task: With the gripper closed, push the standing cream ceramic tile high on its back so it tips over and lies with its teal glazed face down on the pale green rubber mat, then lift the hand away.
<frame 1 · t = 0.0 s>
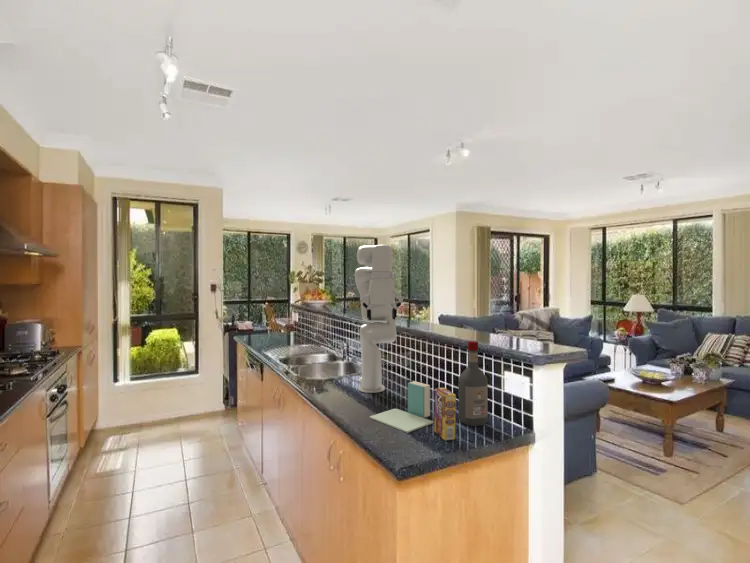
hand: (381, 319, 163), 37 cm above the worktop, tool pointing down, fingers open, 9 cm apart
liquor: (472, 422, 154), on the worktop
candy box: (444, 435, 141), on the worktop
tile: (418, 414, 162), on the worktop
mat: (400, 420, 155), on the worktop
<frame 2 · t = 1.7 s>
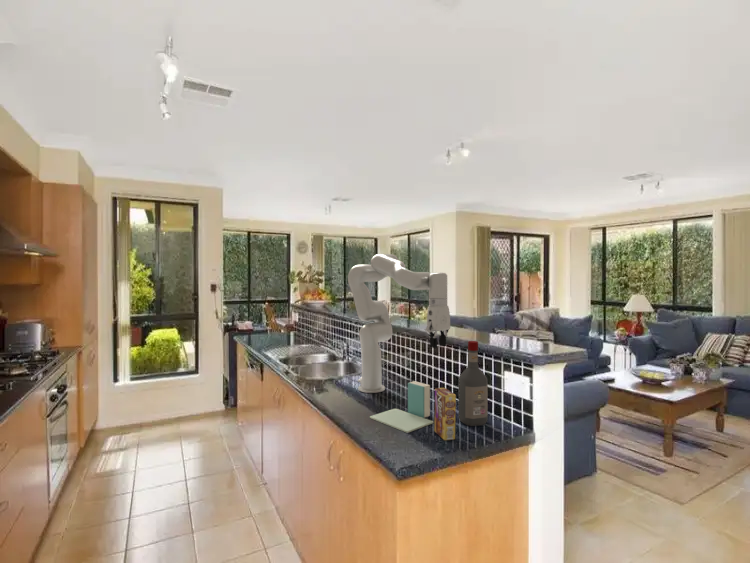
hand: (438, 346, 169), 25 cm above the worktop, tool pointing down, fingers open, 5 cm apart
nothing on the worktop moved.
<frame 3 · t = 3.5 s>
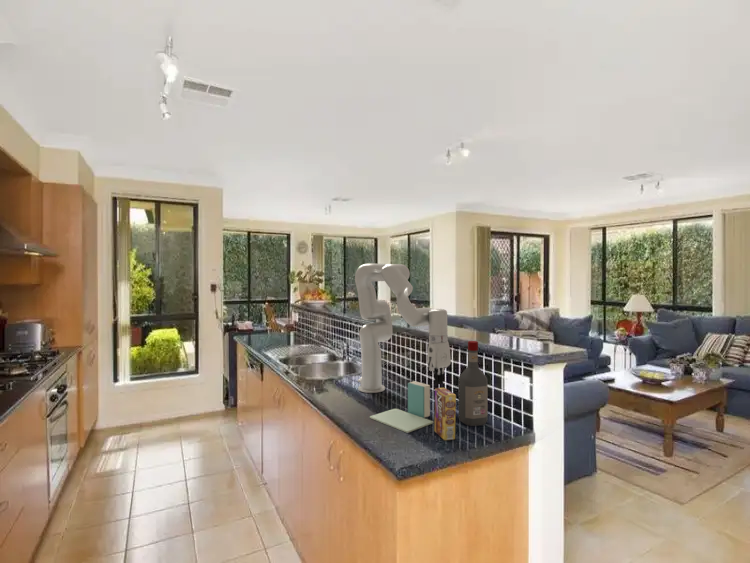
hand: (438, 383, 169), 10 cm above the worktop, tool pointing down, fingers closed
nothing on the worktop moved.
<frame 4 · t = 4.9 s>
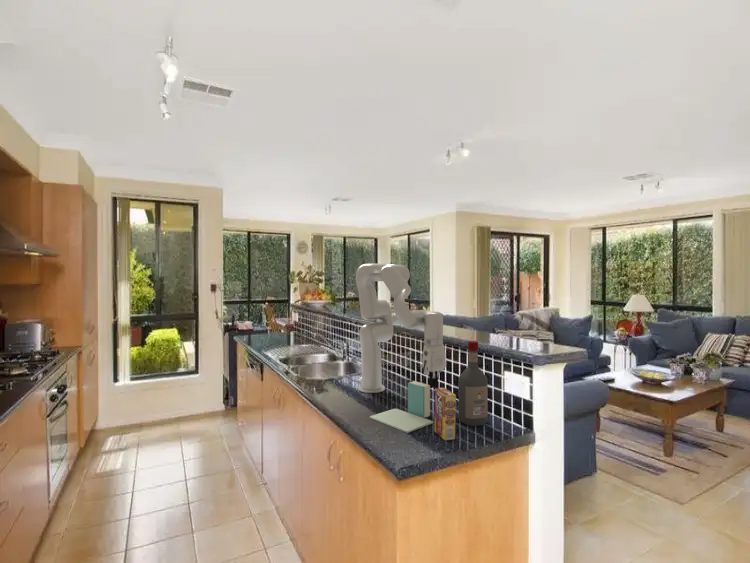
hand: (433, 386, 168), 9 cm above the worktop, tool pointing down, fingers closed
nothing on the worktop moved.
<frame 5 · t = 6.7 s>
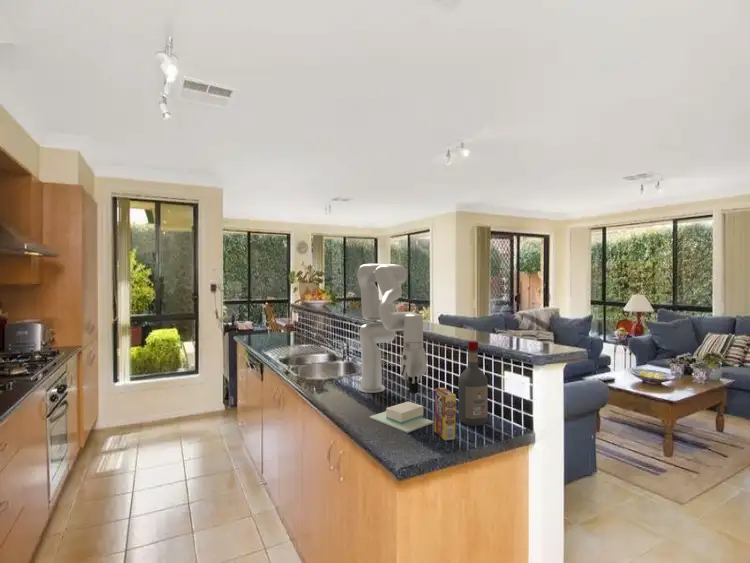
hand: (413, 392, 159), 9 cm above the worktop, tool pointing down, fingers closed
tile: (415, 408, 161), point 3 cm above the worktop, tilted 90°, touching mat
everything else where it was.
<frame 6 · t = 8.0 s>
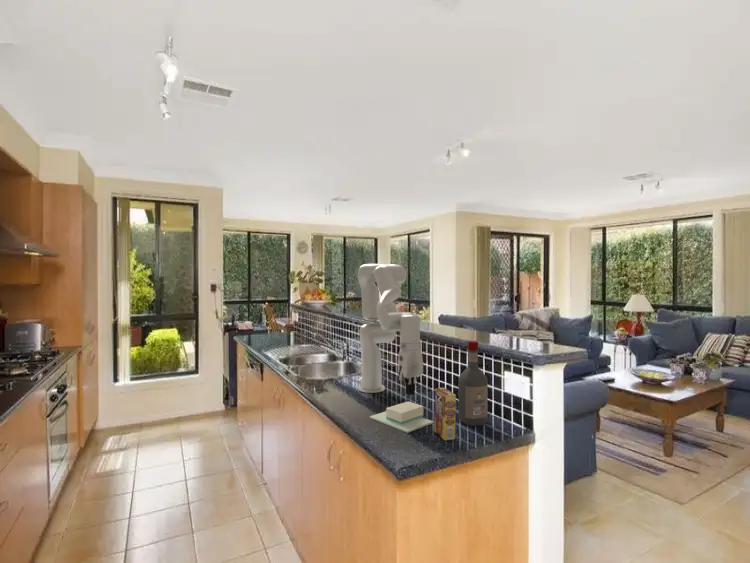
hand: (410, 393, 158), 9 cm above the worktop, tool pointing down, fingers closed
nothing on the worktop moved.
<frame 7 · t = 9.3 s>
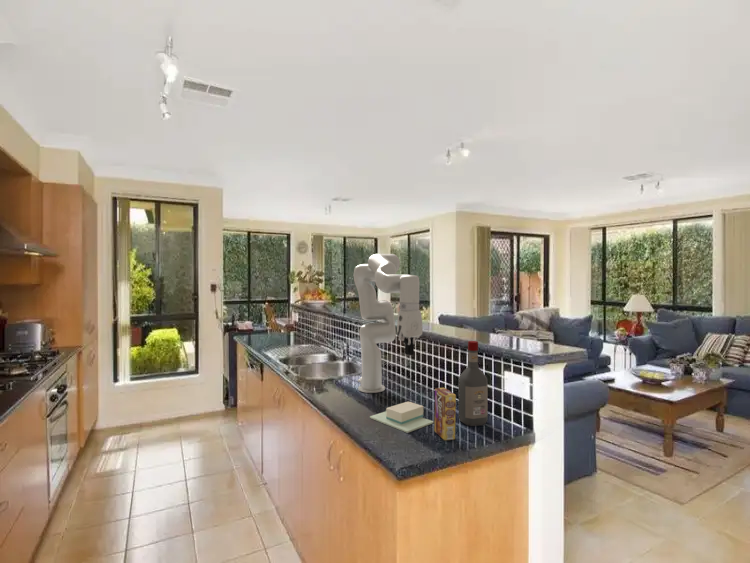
hand: (409, 354, 159), 24 cm above the worktop, tool pointing down, fingers closed
nothing on the worktop moved.
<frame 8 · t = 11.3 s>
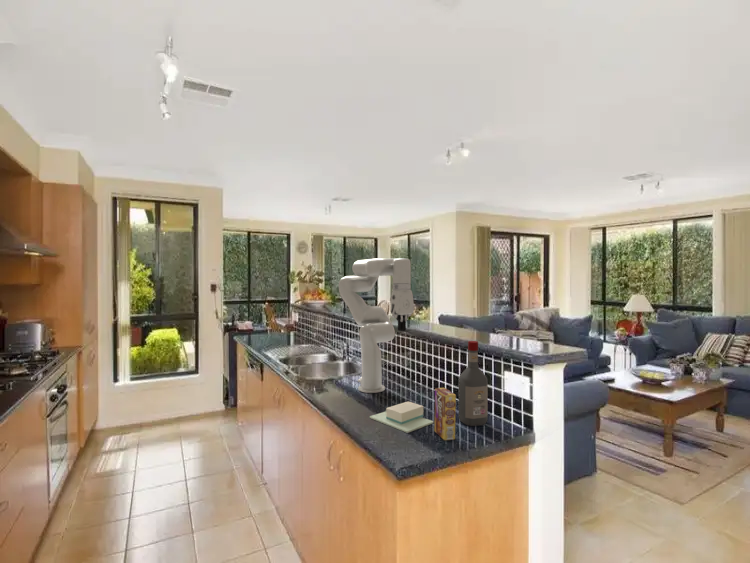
hand: (401, 330, 175), 31 cm above the worktop, tool pointing down, fingers closed
nothing on the worktop moved.
at the end: tile tilted 90°; tile touching mat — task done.
